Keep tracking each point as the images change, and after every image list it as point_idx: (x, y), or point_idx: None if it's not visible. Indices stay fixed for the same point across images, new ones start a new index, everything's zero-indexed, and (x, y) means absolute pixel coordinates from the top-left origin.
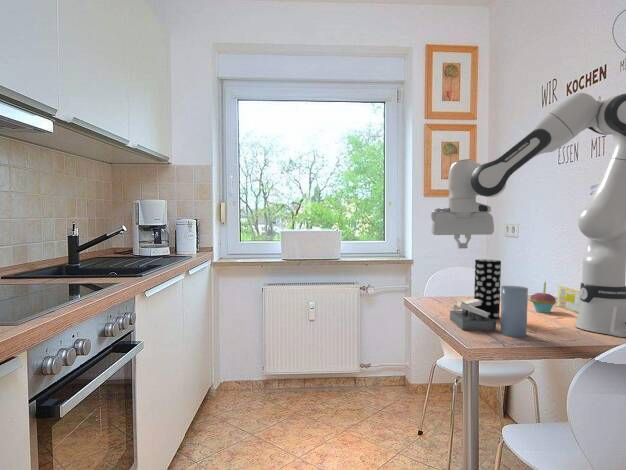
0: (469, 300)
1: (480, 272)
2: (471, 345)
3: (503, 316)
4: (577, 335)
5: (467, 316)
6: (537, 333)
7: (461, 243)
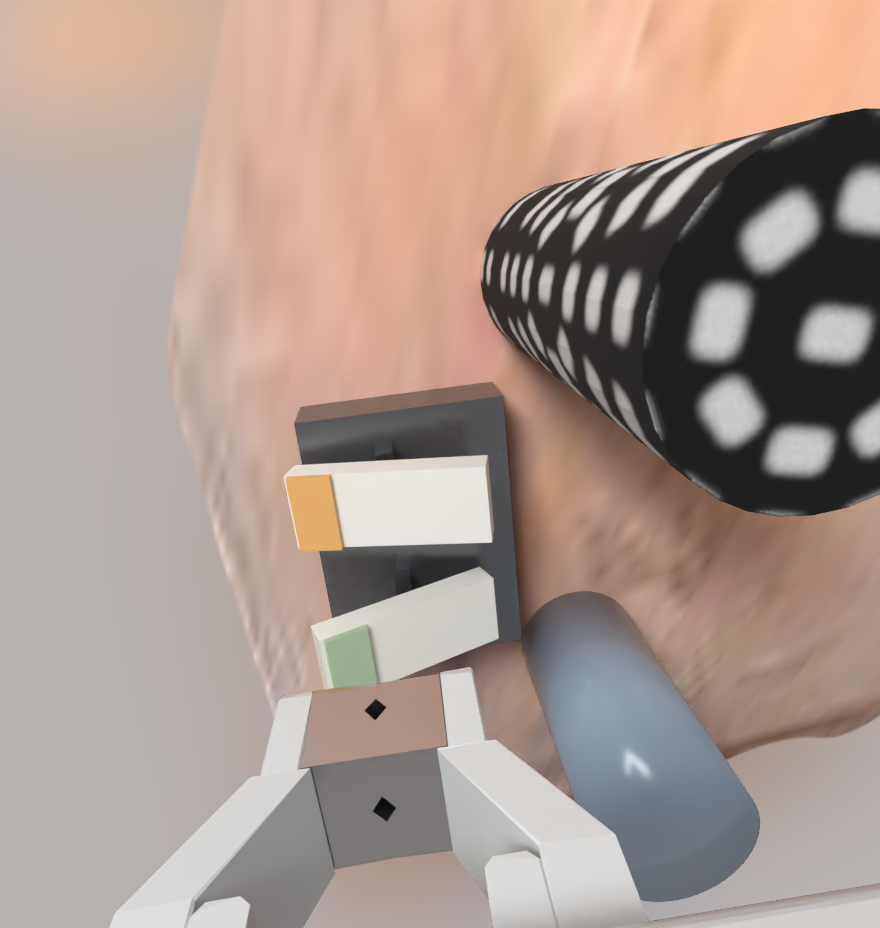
0: (428, 472)
1: (614, 417)
2: None
3: (547, 724)
4: (866, 586)
5: (386, 569)
6: (698, 598)
7: (350, 858)
